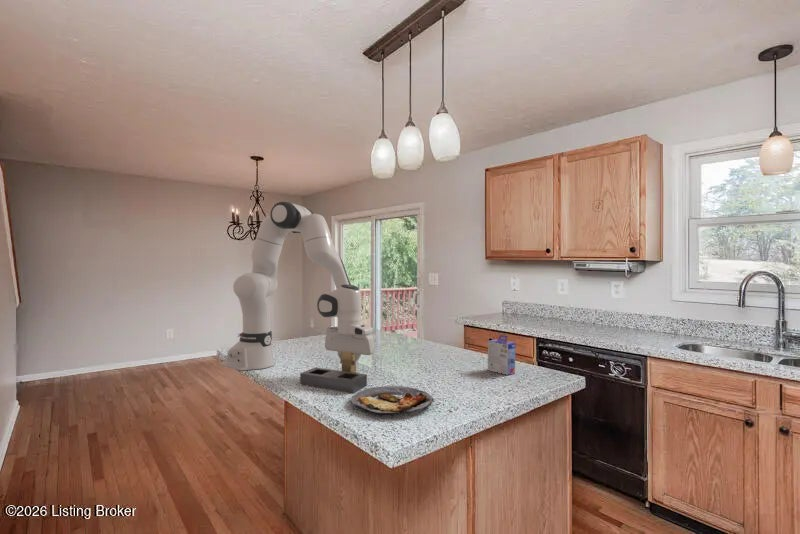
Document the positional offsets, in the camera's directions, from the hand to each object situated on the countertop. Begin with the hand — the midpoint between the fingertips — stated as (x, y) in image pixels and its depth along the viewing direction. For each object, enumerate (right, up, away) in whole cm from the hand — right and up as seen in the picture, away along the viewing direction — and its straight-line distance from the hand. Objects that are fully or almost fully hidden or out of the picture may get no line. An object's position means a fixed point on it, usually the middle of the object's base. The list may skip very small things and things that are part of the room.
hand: (349, 364), depth 153 cm
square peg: (0, -5, 0) cm, 5 cm away
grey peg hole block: (-4, -5, -10) cm, 12 cm away
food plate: (+17, -6, -28) cm, 34 cm away
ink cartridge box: (+60, -5, +8) cm, 61 cm away
